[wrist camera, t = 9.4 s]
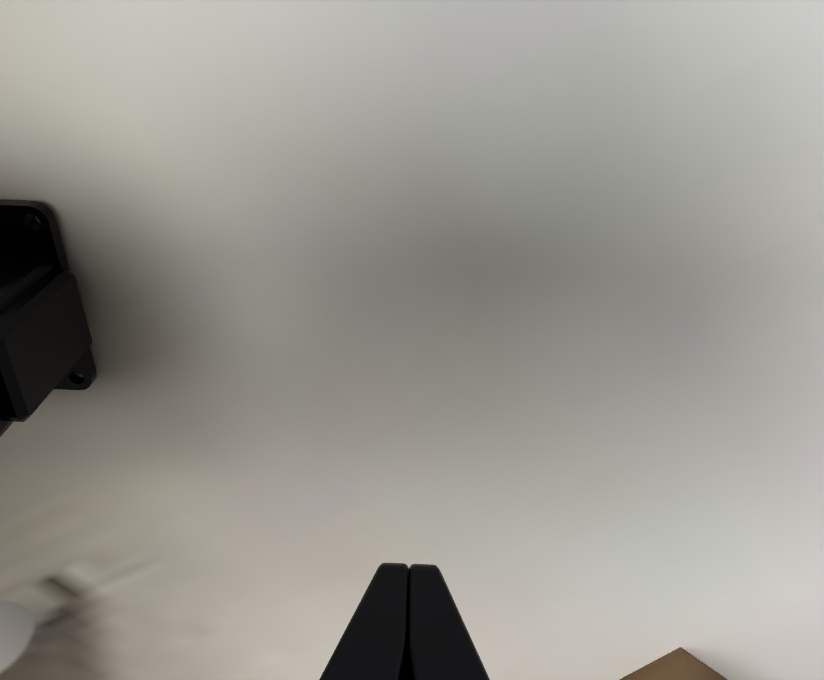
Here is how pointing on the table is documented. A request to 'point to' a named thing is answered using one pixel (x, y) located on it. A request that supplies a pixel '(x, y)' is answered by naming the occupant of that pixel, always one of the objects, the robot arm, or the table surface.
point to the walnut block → (675, 669)
